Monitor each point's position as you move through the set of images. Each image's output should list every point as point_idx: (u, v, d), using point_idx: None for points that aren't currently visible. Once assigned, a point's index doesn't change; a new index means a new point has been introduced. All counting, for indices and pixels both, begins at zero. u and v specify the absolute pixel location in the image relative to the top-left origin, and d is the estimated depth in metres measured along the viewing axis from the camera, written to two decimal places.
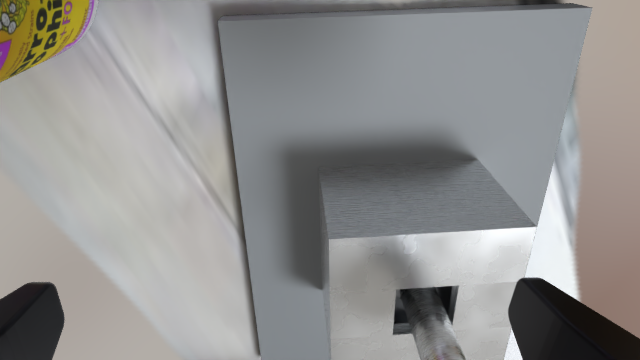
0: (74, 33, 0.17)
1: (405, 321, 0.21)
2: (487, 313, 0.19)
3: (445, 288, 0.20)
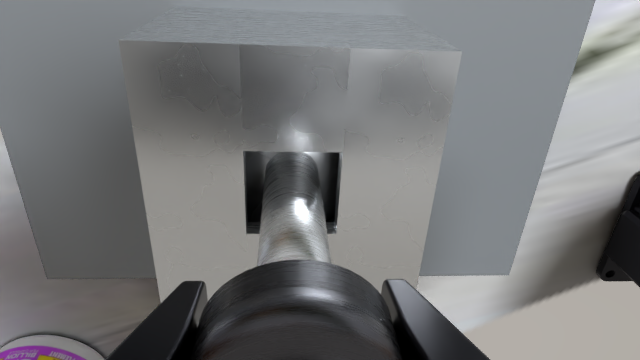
0: None
1: None
2: (310, 97, 0.11)
3: None
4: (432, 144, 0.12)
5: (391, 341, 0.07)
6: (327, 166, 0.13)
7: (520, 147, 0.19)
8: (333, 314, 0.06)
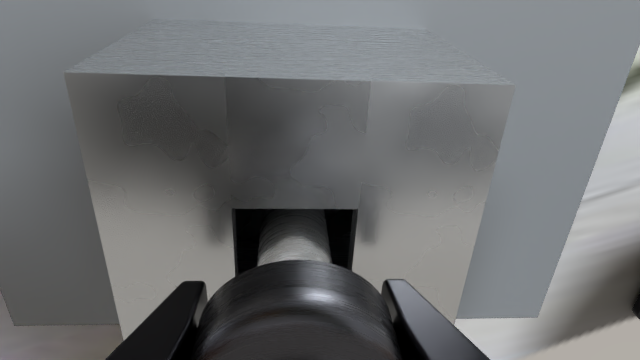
0: None
1: None
2: (318, 143, 0.08)
3: None
4: (471, 198, 0.09)
5: (391, 341, 0.07)
6: None
7: (556, 178, 0.16)
8: (334, 314, 0.06)
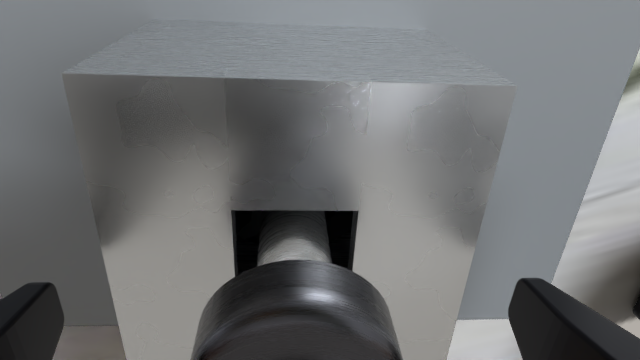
0: None
1: None
2: (318, 144, 0.08)
3: None
4: (472, 200, 0.09)
5: (391, 341, 0.07)
6: None
7: (557, 179, 0.16)
8: (334, 314, 0.06)
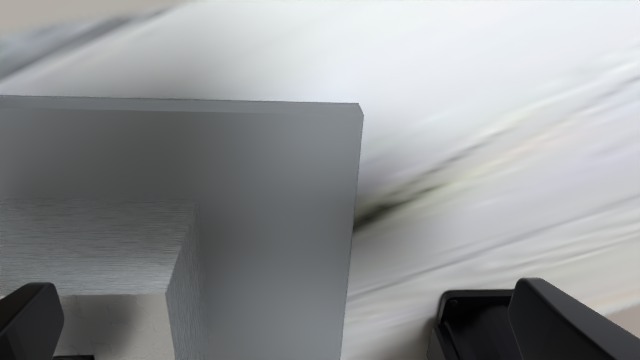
0: None
1: None
2: None
3: None
4: (164, 347, 0.15)
5: None
6: None
7: (322, 286, 0.22)
8: None
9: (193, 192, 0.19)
